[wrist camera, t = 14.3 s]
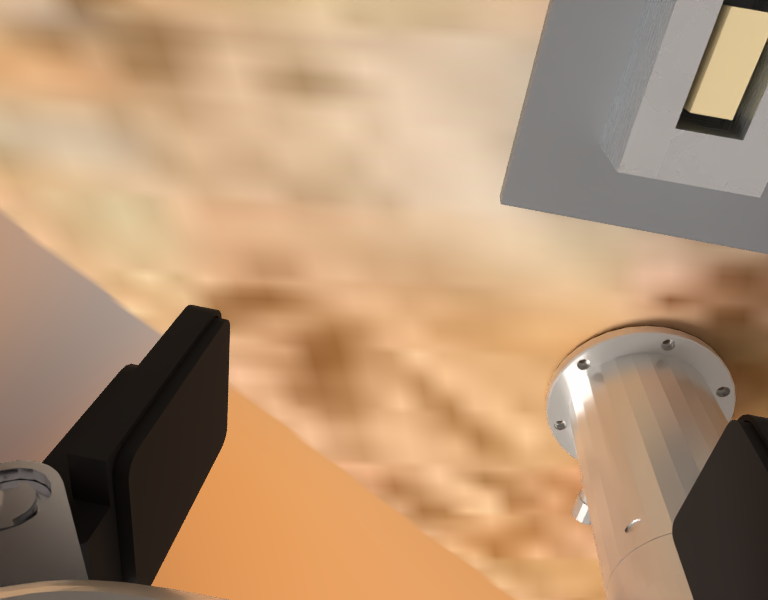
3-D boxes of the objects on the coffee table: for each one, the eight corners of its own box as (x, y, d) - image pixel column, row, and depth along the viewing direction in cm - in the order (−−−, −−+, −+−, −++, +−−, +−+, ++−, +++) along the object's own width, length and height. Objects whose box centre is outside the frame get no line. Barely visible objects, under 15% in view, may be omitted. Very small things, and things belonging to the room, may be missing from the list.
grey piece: (757, 243, 38) (802, 289, 33) (499, 195, 39) (503, 232, 33) (955, -155, 28) (1065, -180, 23) (604, -211, 29) (633, -249, 23)
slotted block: (724, 167, 35) (760, 197, 30) (599, 145, 35) (617, 172, 30) (821, -58, 29) (882, -61, 25) (672, -82, 29) (707, -89, 25)
